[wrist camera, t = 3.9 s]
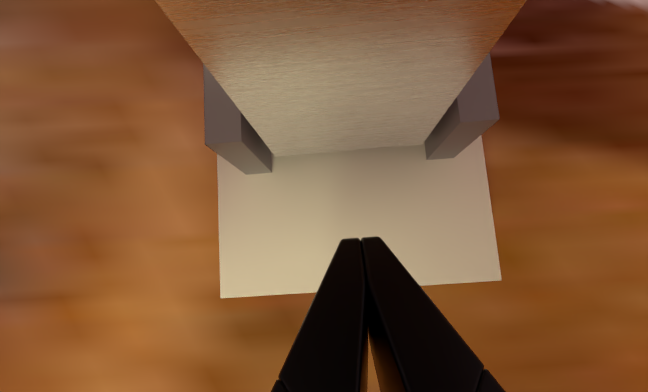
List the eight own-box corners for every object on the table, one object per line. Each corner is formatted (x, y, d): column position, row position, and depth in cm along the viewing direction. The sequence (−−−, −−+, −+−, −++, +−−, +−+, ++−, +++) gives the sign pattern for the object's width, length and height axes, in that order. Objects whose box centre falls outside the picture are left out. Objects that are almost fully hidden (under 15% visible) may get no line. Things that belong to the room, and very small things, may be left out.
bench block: (476, 275, 15) (573, 294, 9) (240, 290, 15) (165, 319, 9) (447, 53, 16) (511, -72, 10) (233, 73, 17) (165, -33, 11)
